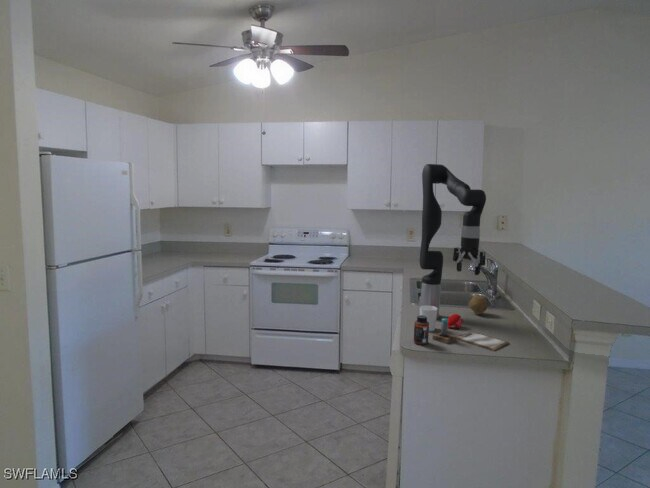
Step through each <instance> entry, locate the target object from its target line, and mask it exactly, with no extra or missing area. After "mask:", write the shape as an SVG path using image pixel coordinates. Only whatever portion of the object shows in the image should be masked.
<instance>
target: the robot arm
mask: <svg viewBox="0 0 650 488" xmlns="http://www.w3.org/2000/svg"><path fill="white" fill-rule="evenodd" d="M421 180H422V184H421V185H422V210H421V211H422V213H421V242H420V249H419V250H420V252H419V266H420V269H422V270H426V271H427V270H429V271H430V270H431V272H430V273H428V274H426V275H423V276H422V278H421V292H420V296H419V298H418V316H419V315H420V306H434V307H436V308H437V318H436V320H437V319H439V317H440V309H441V308H440V304H441V286H442V285H441V284H442V276H443V265H444V254H443V252H442V251H440V250H429V249H430V245H431V241H432V240H433V238H434V237H435V235H436V234H437V232H438V231H439V229H440V228H441V225H442V212H443V211H442V208H441V206H440V204H439V202H438V200H437V197H436V196H435V193H434V184H442V185H445V186H446V188H447V190H448V192H449V193H450V194H451V195H453V196H454V197H456V198H457V200H458V201H459V203H460V204H461V205H463V206H466V207H471V209H470V210H469V211H465V212H464V213H463V216H462V226H461V227H462V228H461V233H460V234H461V235H460V236H461V237H460V247H459V246H458V247H454V248H453V255H452V260H453V262H455V263H456V270H457V272H459V273H460V272H462V268H463V266H462V265H463V263H462V262H463V261H464V260H469V261H472V263H474V265H475V267H474V275H475V276H479V275H480V274H481V267H482V266H485V265H486V251H480V250H479V248H480V237H481V230H480V229H481V228H480V227H481V217H482V214H483V212H484V211H483V210H484V208H485V205H486V202H487V201H486V200H487V195H486V192H485V191H484V190H482V189H473V188H472V189H471V187H470V185H469V184H468V183H466V182H464V181H463V180H462V179H460V178H458V177H457V176H455V175H454V174H453V173H452V172H451V171H450V169H449V168H447V167H446V166H445V165H444V164H436V163H427V164H425V165H424V167H423V168H422V173H421ZM478 256H479V257H478Z"/></svg>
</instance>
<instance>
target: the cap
mask: <svg viewBox="0 0 650 488" xmlns="http://www.w3.org/2000/svg"><path fill="white" fill-rule="evenodd" d="M447 319H448V329H450V328H451V327H452V326H455V327H457V328H458V329H460V328H461V326H462V324H463V319H462V317H461V315H459V314H457V313H454V314H451V315H449V316H448V318H447Z"/></svg>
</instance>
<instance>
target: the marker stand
mask: <svg viewBox="0 0 650 488" xmlns="http://www.w3.org/2000/svg"><path fill="white" fill-rule="evenodd" d="M456 337H457V335H454V334H450V333H448V332H447V337H443V336H441V331H440V332H437V333H434V334H433V335H432V340H433V339H434V341H437V342H440V343H443V344H446V345H447V344H450V343H453V342H455V341H457V339H456Z"/></svg>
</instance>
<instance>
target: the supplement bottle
mask: <svg viewBox="0 0 650 488" xmlns="http://www.w3.org/2000/svg"><path fill="white" fill-rule="evenodd" d="M413 326H414V328H413V342H414V343H415V344H417V345H421V346H424V345H427V344H428V343H429V336H430V335H429V334H430V333H429V332H430V331H429V323H428V322H427V317H426V316H423V315H419V314H418V315H417V318H416V320H415V321H414V325H413Z"/></svg>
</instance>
